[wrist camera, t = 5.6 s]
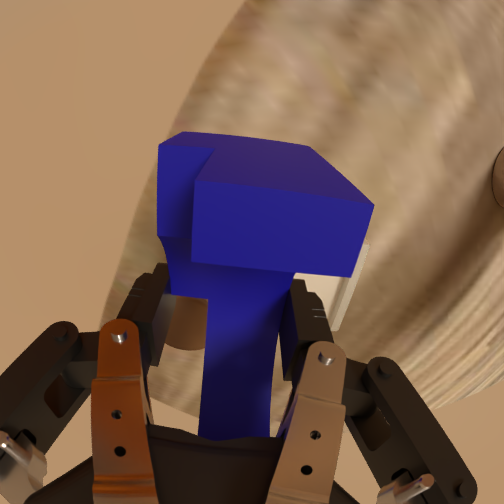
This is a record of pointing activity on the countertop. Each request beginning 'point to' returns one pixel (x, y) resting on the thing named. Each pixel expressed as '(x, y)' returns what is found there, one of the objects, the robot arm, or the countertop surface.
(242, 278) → the cable clip
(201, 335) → the walnut knob
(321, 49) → the countertop surface
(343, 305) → the ridged board
